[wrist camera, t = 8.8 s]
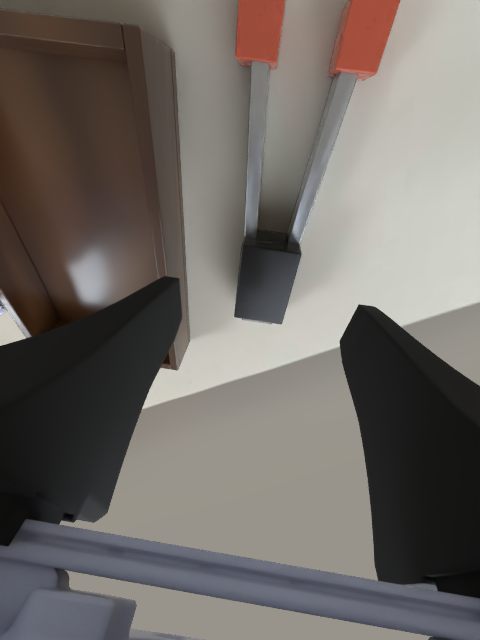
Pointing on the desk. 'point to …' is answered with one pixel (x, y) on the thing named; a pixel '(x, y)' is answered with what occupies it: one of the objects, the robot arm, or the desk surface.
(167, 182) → the tray
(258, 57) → the tongs
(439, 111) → the desk surface
